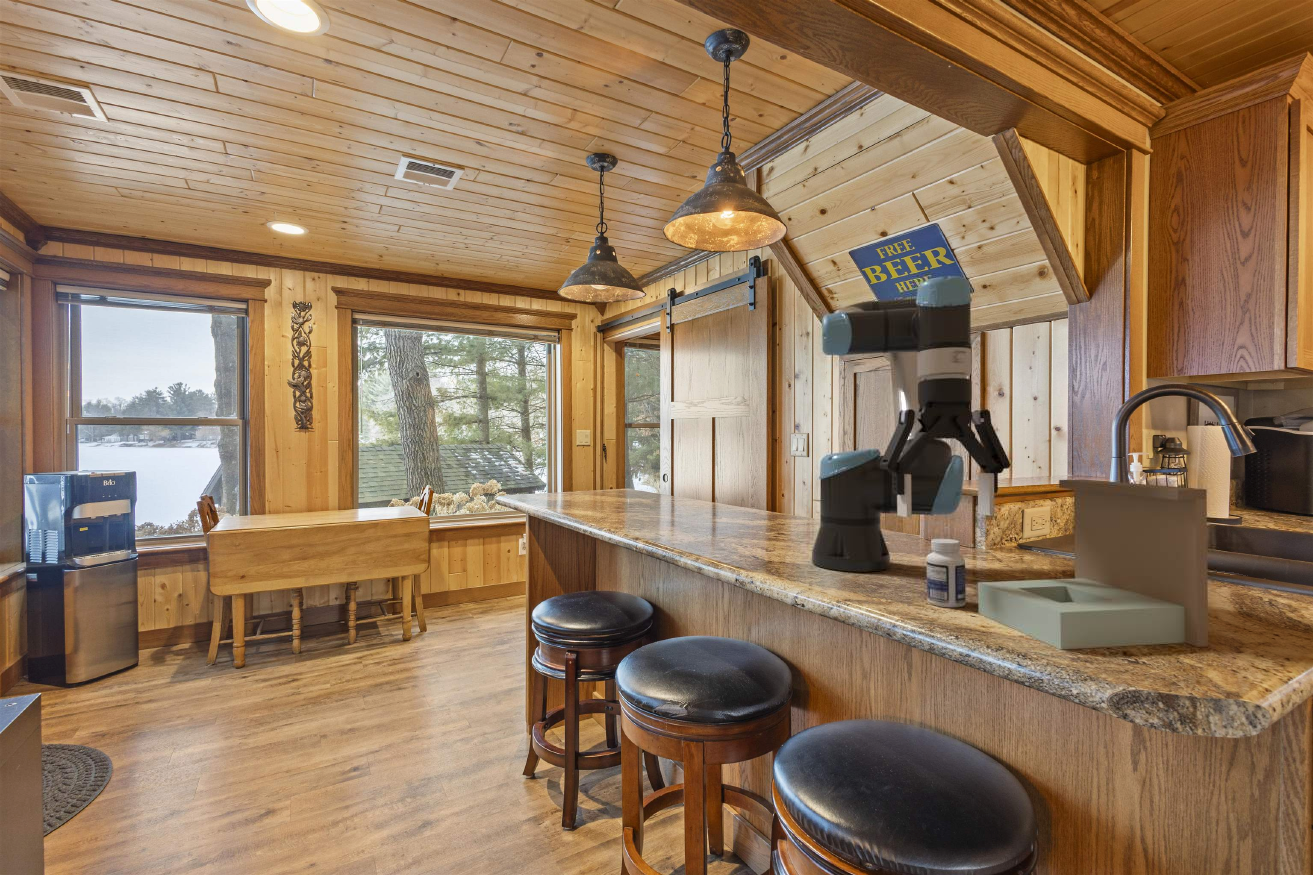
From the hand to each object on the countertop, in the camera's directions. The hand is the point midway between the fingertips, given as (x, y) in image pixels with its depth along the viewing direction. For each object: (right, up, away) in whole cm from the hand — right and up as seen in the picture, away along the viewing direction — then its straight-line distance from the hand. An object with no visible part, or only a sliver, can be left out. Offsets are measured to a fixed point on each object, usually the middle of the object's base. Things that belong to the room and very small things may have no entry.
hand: (945, 515), depth 91 cm
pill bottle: (0, -14, 0) cm, 14 cm away
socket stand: (+12, -13, -11) cm, 22 cm away
